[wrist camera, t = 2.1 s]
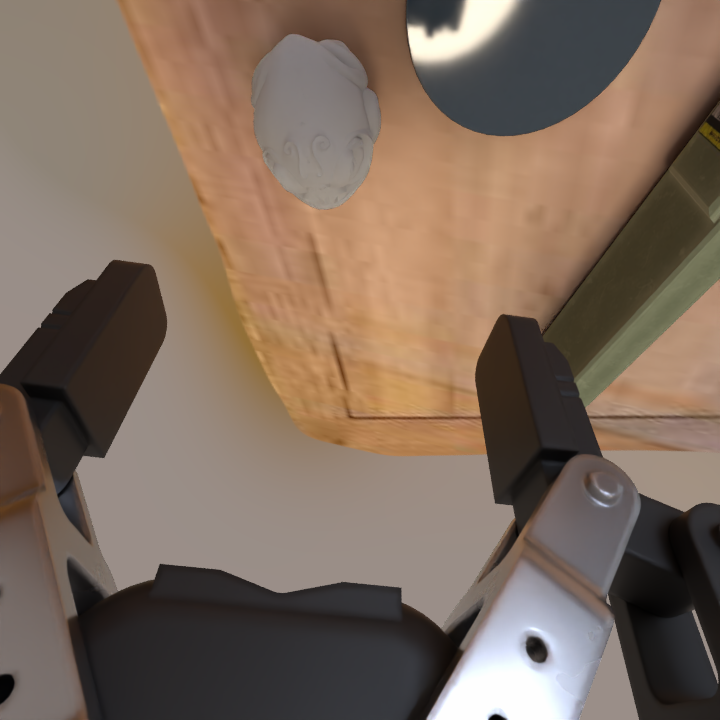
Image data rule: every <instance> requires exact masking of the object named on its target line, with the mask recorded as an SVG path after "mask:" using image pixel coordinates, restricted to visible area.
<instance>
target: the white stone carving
mask: <svg viewBox="0 0 720 720" xmlns="http://www.w3.org/2000/svg"><path fill="white" fill-rule="evenodd" d="M367 84H368V77H367V74H366V72H365V69H364V67H363V65H362V64H361V63H360V61H359V60H358V58H357V57H356V56H355V55H354V54H353V53H352V52H350V50H349V49H348V47H347V46H346V45H345V44H344V43H343V42H341V41H339V40H331V39H325V40H322V41H320V42H316V41H314V40H312V39H309V38H306V37H304V36H301V35H299V34H289V35H287V36H286V37H285V38H284V39H282V40H281V41H280V42H279V43H278V44H277V45H276V46H275V47H274V48H273V49H272V51H271V52H269V53H267V54H266V55H265V56H264V57H263V58H262V60H261V61H260V62H259V64H258V65H257V67H256V68H255V71H254V74H253V77H252V95H251V103H252V106H253V107H254V132H255V136H256V139H257V141H258V144H259V146H260V148H261V149H262V151H263V159H264V162H265V163H266V165H267V166H268V168H269V169H270V171H271V172H272V173H273V175H274V176H275V177H276V179H277V180H278V181H279V182H280V184H281V185H282V187H283V188H284V189H285V190H286V191H288V192H290V193H293V194H294V195H295V196H296V197H297V198H299V199H300V200H301V201H302V202H304V203H306V204H307V205H309V206H311V207H313V208H316V209H324V210H326V209H332V208H335V207H338V206H340V205H342V204H343V203H344V202H346V201H347V200H348V199H349V198H350V197H351V196H352V195H353V194H354V192H355V191H356V190H357V188H358V187H359V186H360V185H361V184H362V182H363V181H364V180H365V178H366V176H367V174H368V172H369V168H370V165H371V161H372V153H373V144H374V143H375V142H376V140H377V137H378V135H379V132H380V128H381V113H380V108H379V104H378V98H377V96H376V94H375V93H374V91H372V90H370V89H369V88H367Z"/></svg>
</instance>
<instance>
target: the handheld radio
mask: <svg viewBox="0 0 720 720" xmlns="http://www.w3.org/2000/svg"><path fill="white" fill-rule="evenodd" d="M719 279H720V101H719V102H718V104H717V105H716V106H715V108H714V109H713V110H712V112H711V113H710V114H709V116H708V117H707V118H706V120H705V121H704V122H703V124H702V125H701V126H700V128H699V129H698V130H697V132H696V133H695V134H694V136H693V137H692V138H691V140H690V141H689V142H688V144H687V145H686V146H685V148H684V149H683V150H682V152H681V153H680V154H679V156H678V157H677V158H676V160H675V161H674V162H673V163H672V165H671V166H670V167H669V169H668V170H667V172H666V173H665V174H664V176H663V177H662V178H661V180H660V181H659V182H658V184H657V185H656V186H655V188H654V189H653V190H652V192H651V193H650V194H649V196H648V197H647V198H646V200H645V201H644V202H643V204H642V205H641V206H640V208H639V209H638V210H637V212H636V213H635V214H634V216H633V217H632V218H631V220H630V221H629V222H628V224H627V225H626V226H625V228H624V229H623V230H622V232H621V233H620V234H619V236H618V237H617V238H616V239H615V241H614V242H613V243H612V245H611V246H610V247H609V249H608V250H607V251H606V253H605V254H604V255H603V257H602V258H601V259H600V261H599V262H598V263H597V265H596V266H595V267H594V269H593V270H592V271H591V273H590V274H589V275H588V277H587V278H586V279H585V281H584V282H583V283H582V285H581V286H580V287H579V289H578V290H577V291H576V293H575V294H574V295H573V297H572V298H571V299H570V301H569V302H568V303H567V305H566V306H565V307H564V308H563V310H562V311H561V312H560V314H559V315H558V316H557V318H556V319H555V320H554V322H553V323H552V324H551V326H550V327H549V328H548V330H547V331H546V332H545V334H544V335H543V340H544V342H549V343H554V345H555V346H556V347H557V348H558V349H559V351H560V352H561V353H562V354H563V355H564V357H565V358H566V359H567V360H568V363H569V366H570V368H571V371H572V374H573V377H574V383H576V385H577V388H578V390H579V393H580V395H579V398H581V399H582V401H583V404H584V407H586V406H588V405H589V404H590V403H591V402H592V401H593V400H594V399H595V398H596V397H597V396H598V395H599V394H600V393H601V392H603V391H604V390H605V389H606V388H607V387H608V386H609V385H610V384H611V383H612V382H613V381H614V380H615V379H616V378H617V377H618V376H619V375H620V374H621V373H622V372H623V371H624V370H625V369H626V368H627V367H628V366H629V365H631V364H632V363H633V362H634V361H635V360H636V359H637V358H638V357H639V356H640V355H641V354H642V353H643V352H644V351H645V350H646V349H647V348H648V347H649V346H650V345H651V344H652V343H653V342H654V341H655V340H656V339H657V338H659V337H660V336H661V335H662V334H663V333H664V332H665V331H666V330H667V329H668V328H669V327H670V326H671V325H672V324H673V323H674V322H675V321H676V320H677V319H678V318H679V317H680V316H681V315H682V314H683V313H684V312H685V311H687V310H688V309H689V308H690V307H691V306H692V305H693V304H694V303H695V302H696V301H697V300H698V299H699V298H700V297H701V296H702V295H703V294H704V293H705V292H706V291H707V290H708V289H709V288H710V287H711V286H712V285H713V284H715V283H716V282H717V281H718V280H719Z"/></svg>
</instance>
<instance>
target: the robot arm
mask: <svg viewBox="0 0 720 720" xmlns="http://www.w3.org/2000/svg"><path fill="white" fill-rule="evenodd" d="M166 330H167V316H166V312H165V308H164V304H163V300H162V296H161V293H160V289H159V284H158V281H157V277H156V273H155V270H154V268H153V267H152V266H151V265H149V264H142V263H134V262H126V261H120V260H113V261H112V262H110V263H109V265H108V266H107V267H106V268H105V270H104V271H103V272H102V274H101V275H100V276H99V278H98V279H97V280H86V281H84V282H83V283H81V284H80V285H78V286H76V287H75V288H73V289H72V290H70V291H68V292H67V293H66V294H65V295H64V296H63V298H62V299H61V300H60V301H59V303H58V304H57V305H56V306H55V307H54V308H53V312H52V314H51V313H49V315H48V316H47V317H46V319H45V320H44V321H43V322H42V323H41V328H37V330H36V331H35V332H34V333H33V335H32V336H31V337H30V338H29V340H28V341H27V342H26V343H25V344H24V346H23V347H22V348H21V349H20V351H19V352H18V353H17V354H16V356H15V357H14V358H13V359H12V360H11V362H10V363H9V364H8V366H7V367H6V368H5V369H4V370H3V372H2V373H1V374H0V720H579V718H580V715H581V712H582V709H583V707H584V704H585V701H586V698H587V695H588V693H589V690H590V688H591V685H592V682H593V679H594V676H595V674H596V671H597V668H598V666H599V663H600V660H601V658H602V655H603V652H604V649H605V647H606V644H607V641H608V638H609V636H610V633H611V630H612V627H613V623H614V620H615V624H616V628H617V632H618V636H619V640H620V644H621V648H622V652H623V656H624V660H625V664H626V668H627V672H628V676H629V680H630V684H631V688H632V692H633V696H634V700H635V704H636V708H637V713H638V717H639V720H720V505H717V504H713V503H701V504H698V505H696V506H694V507H693V508H691V509H689V510H688V511H686V512H683V511H680V510H678V509H675V508H673V507H670V506H668V505H666V504H663V503H661V502H659V501H656V500H654V499H651V498H648V497H646V496H644V495H642V494H640V493H638V491H637V489H636V487H635V485H634V483H633V482H632V480H631V479H630V478H629V477H628V476H627V474H626V473H625V472H624V471H623V470H622V469H620V468H619V467H618V466H617V465H615V464H614V463H612V462H611V461H609V460H607V459H605V458H603V456H602V454H601V451H600V448H599V445H598V443H597V440H596V437H595V434H594V432H593V429H592V426H591V423H590V421H589V418H588V415H587V412H586V410H585V407H584V404H583V401H582V399H581V398H579V395H580V393H579V390H578V388H577V385H576V383H574V377H573V374H572V371H571V368H570V366H569V363H568V360H567V359H566V358H565V357H564V355H563V354H562V353H561V352H560V351H559V349H558V348H557V347H556V346H555V345H554V343H549V342H544V340H543V337H542V334H541V331H540V328H539V325H538V322H537V321H536V320H535V319H534V318H527V317H520V316H512V315H505V314H502V315H501V316H500V317H499V318H498V319H497V321H496V323H495V325H494V327H493V330H492V332H491V334H490V336H489V338H488V340H487V342H486V344H485V346H484V348H483V350H482V352H481V354H480V356H479V359H478V362H477V366H476V373H475V382H476V388H477V394H478V401H479V407H480V413H481V419H482V425H483V432H484V438H485V444H486V450H487V456H488V462H489V469H490V474H491V481H492V487H493V493H494V499H495V503H497V504H505V505H513V508H514V514H515V518H514V519H513V521H512V522H511V523H510V525H509V527H508V528H507V530H506V531H505V533H504V534H503V536H502V538H501V539H500V541H499V542H498V544H497V546H496V547H495V549H494V551H493V552H492V554H491V555H490V557H489V559H488V560H487V562H486V563H485V565H484V567H483V568H482V570H481V571H480V573H479V575H478V576H477V578H476V580H475V581H474V583H473V584H472V586H471V587H470V589H469V590H468V592H467V593H466V594H465V595H464V597H463V598H462V599H461V600H460V602H459V603H458V604H457V606H456V607H455V609H454V610H453V612H452V613H451V614H450V616H449V617H448V619H447V620H446V622H445V624H444V625H443V627H442V628H440V627H439V626H438V625H436V624H435V623H434V622H433V621H432V620H430V619H429V618H428V617H426V616H425V615H424V614H422V613H420V612H419V611H417V610H416V609H414V608H412V607H410V606H408V605H406V604H404V603H402V602H401V588H398V587H388V586H378V585H367V584H357V583H347V582H341V583H337V584H331V585H325V586H320V587H315V588H310V589H304V590H299V591H293V592H288V593H276V592H273V591H271V590H268V589H266V588H264V587H261V586H259V585H256V584H254V583H251V582H249V581H246V580H244V579H242V578H239V577H237V576H234V575H232V574H229V573H227V572H224V571H221V570H216V569H205V568H196V567H186V566H175V565H165V564H160V565H159V568H158V571H157V574H156V577H155V580H150V581H146V582H143V583H140V584H136V585H133V586H130V587H128V588H125V589H123V590H121V591H118V590H117V587H116V585H115V582H114V579H113V577H112V574H111V572H110V570H109V567H108V565H107V563H106V562H105V560H104V558H103V556H102V553H101V551H100V548H99V545H98V542H97V538H96V535H95V531H94V528H93V525H92V521H91V518H90V514H89V511H88V508H87V504H86V501H85V497H84V494H83V491H82V487H81V484H80V480H79V477H78V475H77V472H76V471H75V469H76V467H77V466H78V464H79V462H80V460H81V458H82V456H90V457H99V458H104V457H105V455H106V453H107V451H108V449H109V447H110V446H111V444H112V442H113V439H114V438H115V436H116V434H117V432H118V430H119V428H120V426H121V424H122V422H123V420H124V418H125V416H126V414H127V412H128V410H129V408H130V406H131V404H132V402H133V400H134V398H135V396H136V394H137V392H138V390H139V388H140V386H141V385H142V382H143V381H144V379H145V377H146V375H147V373H148V371H149V369H150V367H151V365H152V363H153V361H154V359H155V357H156V355H157V353H158V351H159V349H160V347H161V345H162V343H163V341H164V338H165V335H166ZM607 594H608V596H609V600H610V604H611V606H610V605H609V604H607V603H606V598H607ZM694 609H695V611H696V613H697V616H698V619H699V621H700V624H701V627H702V630H703V632H704V635H705V638H706V641H707V644H708V646H709V649H710V652H711V655H712V657H713V660H714V663H715V666H716V669H717V673H718V679H719V683H717V680H716V677H715V675H714V672H713V669H712V666H711V664H710V661H709V658H708V655H707V652H706V650H705V647H704V644H703V641H702V638H701V636H700V633H699V630H698V627H697V625H696V622H695V619H694V616H693V613H692V610H694Z"/></svg>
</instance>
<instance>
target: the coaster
mask: <svg viewBox="0 0 720 720" xmlns="http://www.w3.org/2000/svg"><path fill="white" fill-rule="evenodd" d="M660 2H661V0H406V29H407V40H408V46H409V50H410V55H411V60H412V62H413V65H414V68H415V71H416V74H417V76H418V78H419V81H420V83H421V85H422V87H423V89H424V90H425V92H426V93H427V95H428V96H429V98H430V99H431V101H432V102H433V103H434V104H435V105H436V106H437V107H438V108H439V110H440V111H441V112H443V113H444V114H445V115H446V116H447V117H449V118H450V119H451V120H453V121H454V122H456V123H457V124H459V125H461V126H462V127H465V128H467V129H470V130H472V131H474V132H478V133H482V134H486V135H495V136H515V135H521V134H527V133H531V132H535V131H538V130H542V129H544V128H547V127H549V126H552V125H554V124H556V123H559V122H560V121H562V120H564V119H566V118H568V117H569V116H571V115H573V114H574V113H576V112H577V111H579V110H580V109H582V108H583V107H584V106H586V105H587V104H588V103H590V102H591V101H592V100H593V99H594V98H596V97H597V96H598V95H599V94H600V93H601V92H602V91H603V90H604V89H605V88H606V87H607V86H608V85H609V84H610V83H611V82H612V81H613V80H614V79H615V78H616V77H617V75H618V74H619V73H620V72H621V71H622V69H623V68H624V67H625V66H626V65H627V63H628V62H629V60H630V59H631V57H632V56H633V54H634V53H635V52H636V50H637V49H638V47H639V45H640V44H641V42H642V40H643V38H644V37H645V35H646V33H647V31H648V30H649V28H650V25H651V23H652V21H653V19H654V17H655V14H656V12H657V10H658V8H659V5H660Z"/></svg>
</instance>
